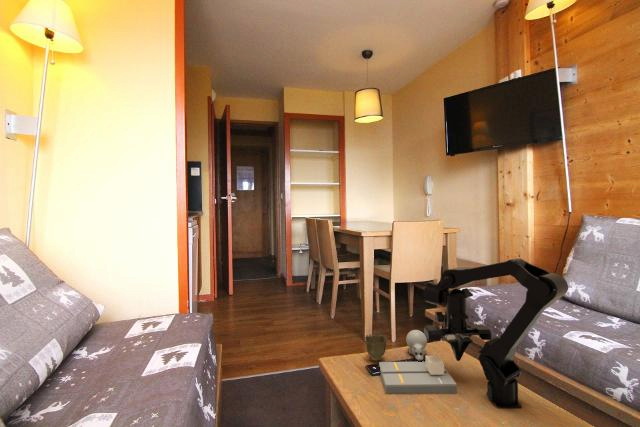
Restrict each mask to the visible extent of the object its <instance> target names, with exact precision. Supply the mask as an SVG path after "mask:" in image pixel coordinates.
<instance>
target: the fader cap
mask: <svg viewBox="0 0 640 427" xmlns="http://www.w3.org/2000/svg"><path fill="white" fill-rule="evenodd" d="M424 359H425V362H426V368H427V370H428V371H429V373H430V375H444V367H445V365H444V364H445V363H444V361H443V360H442V359H441V356H439V355H425V357H424Z"/></svg>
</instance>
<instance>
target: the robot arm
mask: <svg viewBox="0 0 640 427" xmlns="http://www.w3.org/2000/svg"><path fill="white" fill-rule="evenodd" d="M442 272H443V273H442V275H441V278H440V280H439V281H438V283H436V282H435V281H429V282H428V281H427V282H426V286H425V287H424V288H423V293H422V298H423V300H424V302H425V303H429V304H431V305H432V304H433V305H437V306H441V307H444V306H445V308H446V309H444V310H445V311H444V314H443V312H442V311H435V312H434V317H435V318H434V319H435V323H441V326H444V327H445V328H440V327H439V326H438V325H433V324H432V325H429V324H428V325H425V326H424V327H423V333H424V335H425V336H426V338H427V341H431V342H437V341H438V342H440V341H441V340H442V339H444V340H445V341H446V343H448V344H449V345H450V347H451V350H452V353H453V355H454V357H455V360H456V361H457V362H460V361H461V359H462V357H463V356H464V353H465V351H466V350H467V349H468V348H469V345H470V344H472V343H473V339H472V338H471V337H472V336H478V337H479V338H480V339H481V340H482V341H486V342H485V343H484V345H483V346H482V349H481V350H479V351H478V353H479V355H478V361H479V363H480V366H481V368H482V371H483V373H484V376H485V379H486V380H487V381H486V389H487V390H486V392H485V393H486V396H487V397H488V399H489V400H490V401H491V402H492V403H493V404H494V405H495V407H497V408H498V409H500V408H501V409H502V408H503V409H504V408H506V409H508V408H512V409H513V408H516V409H517V408H520V409H521V408H522V407H523V404H521V403H520V402H519V383H518V382H519V381H518V380H517V378H520V377H521V374H522V369H521V368H520V367H519V365H517V363H516V362H515V361H514V358H515V357H516V349H517V347H518V346H519V344H520V343H521V342H522V340H523V339H524V338H525V336H527V334H528V333H529V331H530V330H531V328H533V326H534V324H535V323H536V322H537V320H539V318H540V317H541V315H542V314H543V313H544V311H546V310H547V309H548V308H549V307H551V306H552V305H553V304H555V303H556V302H557V301H558V300H560V299H561V298H562V297H564V295H566V294H567V293H568V291H569V284H568V281H567V280H566V278H564V277H563V276H562V275H560V274H558V273H553V272H552V273H551V272H549V270H547V269H544V268H542V267H539V266H537V265H534V264H531V263H530V262H528V261H526V260H525V259H522V258H519V257H517V258H512V259H508V260H506V261H501V262H497V263H492V264H488V265H487V264H486V265H483V266H477V267H469V266H466V267H465V266H462V267H461V266H459V267H454V268H449V269H445V270H443V271H442ZM506 276H511V277H513V278H514V279H515V280H516V281H517V282H518V283H519V284H520V286H522V287H523V288H525V289H527V290H526V292H525V301H524V303H523V304H522V306H521V307H520V309H519V310H518V312H517V313H516V314H515V316H514V317H513V318H512V320H511V321H510V322H509V324H508V325H507V327H505V329H504V331H503V332H502V333H501V335H500V337H498V336H497V337H494V338H493V332H492V329H490V328H488V326H486V325H484V324H482V323H481V324H471V325H470V328H468V320H469V315H468V313H467V312H468V311H467V299H468V298H471V297H474V293H472V291H470V290H469V288H467V287H466V288H462V289H460V288H459V287H464V286H467V285H470V284H472V283H474V282H478V281H483V280H488V279H489V280H490V279H495V278H500V277H501V278H502V277H506ZM451 289H452V290H451Z"/></svg>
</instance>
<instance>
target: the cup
mask: <svg viewBox="0 0 640 427" xmlns="http://www.w3.org/2000/svg"><path fill="white" fill-rule="evenodd" d="M364 339H365V347H366V352H367V354H368V355H369V356H370V359H371V361H372V362H376V363H379V362H382V358H383V356H385V353H386V349H387V339H388V338H386V336H385V335H384V334H382V335H381V334H377V333H375V334H374V333H372V334H369V335H368V334H367V335H366V336H364Z"/></svg>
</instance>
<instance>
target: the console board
mask: <svg viewBox="0 0 640 427" xmlns="http://www.w3.org/2000/svg"><path fill="white" fill-rule="evenodd" d="M379 367H380V371H381V374H380V378H381V381H382V384H383V388H384V392H385V394H386V395H395V394H397V395H398V394H399V395H401V394H402V395H403V394H404V395H405V394H407V395H409V394H416V395H417V394H457V392H458V391H457V389H458V388H457V386H458V384H457V383H456V381H455V380H454V379H453V377H452V376H451V375H450V372H448V370H447V369H446V367H445V366H444V375H430V373H429V371H428V370H427V368H426V361H422V362H418V361H379V362H378V368H379ZM380 371H379V372H380Z"/></svg>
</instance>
